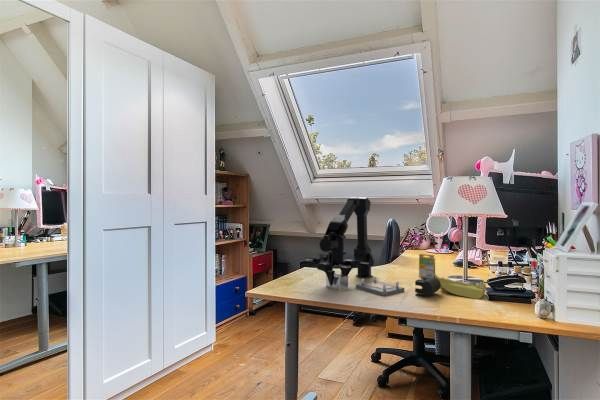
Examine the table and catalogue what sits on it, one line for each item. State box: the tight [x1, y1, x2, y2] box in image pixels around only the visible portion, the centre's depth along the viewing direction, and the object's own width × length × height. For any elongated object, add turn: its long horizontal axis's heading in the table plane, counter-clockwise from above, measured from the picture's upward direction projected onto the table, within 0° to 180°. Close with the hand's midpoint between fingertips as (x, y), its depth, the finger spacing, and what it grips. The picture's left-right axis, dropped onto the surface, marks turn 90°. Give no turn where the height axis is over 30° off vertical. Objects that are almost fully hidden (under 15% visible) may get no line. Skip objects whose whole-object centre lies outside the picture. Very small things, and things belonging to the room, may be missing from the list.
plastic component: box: [434, 273, 487, 300], centre depth 154 cm, size 20×7×10 cm
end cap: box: [414, 277, 441, 298], centre depth 150 cm, size 10×7×7 cm
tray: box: [355, 276, 405, 297], centre depth 158 cm, size 13×16×4 cm
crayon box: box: [418, 253, 436, 278], centre depth 184 cm, size 7×3×12 cm, turn 57°
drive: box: [325, 272, 349, 291], centre depth 162 cm, size 5×9×6 cm, turn 36°
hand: (337, 284), depth 162 cm, fingers open, 7 cm apart
